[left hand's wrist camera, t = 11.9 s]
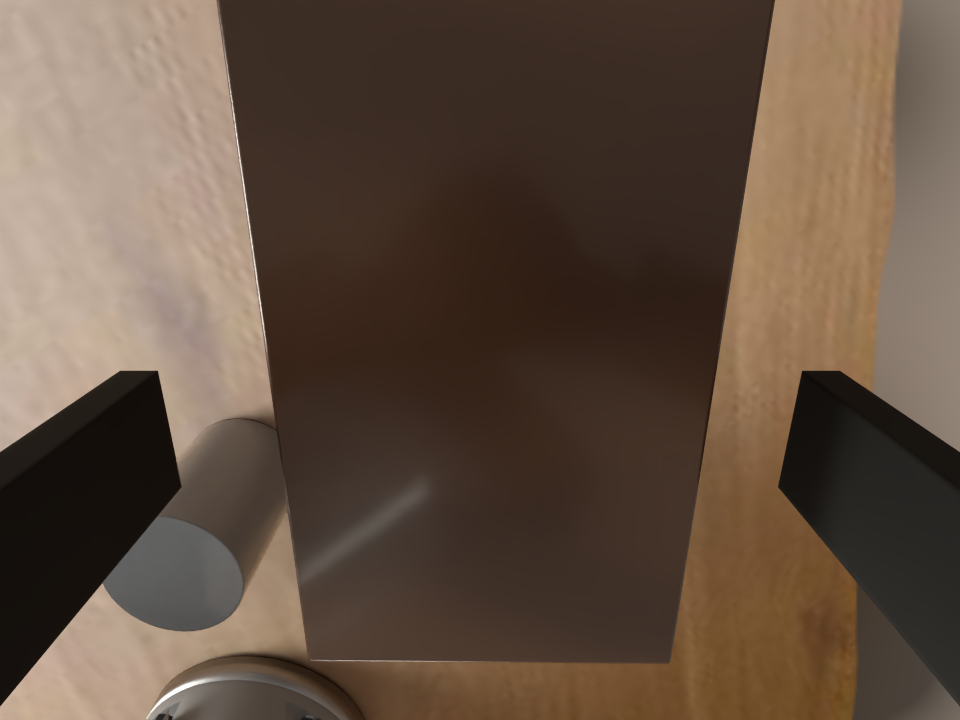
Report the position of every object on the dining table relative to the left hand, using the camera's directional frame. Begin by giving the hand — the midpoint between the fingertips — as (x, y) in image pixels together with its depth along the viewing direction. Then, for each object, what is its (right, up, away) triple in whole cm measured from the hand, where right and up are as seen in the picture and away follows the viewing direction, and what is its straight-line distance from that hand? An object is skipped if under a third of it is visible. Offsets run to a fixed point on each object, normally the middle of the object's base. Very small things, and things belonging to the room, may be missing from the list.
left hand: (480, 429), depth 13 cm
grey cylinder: (-14, -5, +22) cm, 27 cm away
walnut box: (0, +12, +2) cm, 12 cm away
